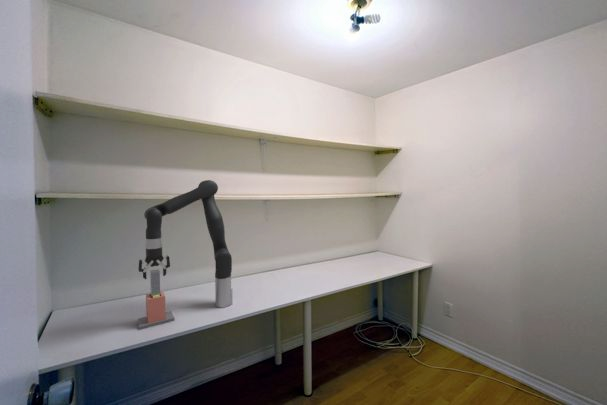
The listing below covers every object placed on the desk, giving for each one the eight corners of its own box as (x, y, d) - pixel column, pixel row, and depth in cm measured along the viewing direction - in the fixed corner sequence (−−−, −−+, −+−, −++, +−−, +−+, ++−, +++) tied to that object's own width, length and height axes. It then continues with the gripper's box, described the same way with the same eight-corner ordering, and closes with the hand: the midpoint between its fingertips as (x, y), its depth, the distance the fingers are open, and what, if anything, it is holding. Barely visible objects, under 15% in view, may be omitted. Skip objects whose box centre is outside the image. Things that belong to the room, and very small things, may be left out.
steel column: (159, 303, 146) (158, 269, 144) (160, 305, 142) (159, 271, 141) (150, 304, 143) (149, 270, 142) (151, 307, 140) (150, 272, 139)
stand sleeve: (171, 313, 152) (170, 287, 151) (174, 320, 144) (173, 293, 143) (137, 321, 143) (136, 293, 142) (139, 329, 135) (138, 300, 134)
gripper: (167, 243, 148) (168, 272, 149) (137, 246, 139) (138, 277, 141) (170, 246, 142) (171, 276, 143) (138, 250, 133) (139, 282, 135)
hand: (154, 277), depth 142 cm, fingers open, 8 cm apart
